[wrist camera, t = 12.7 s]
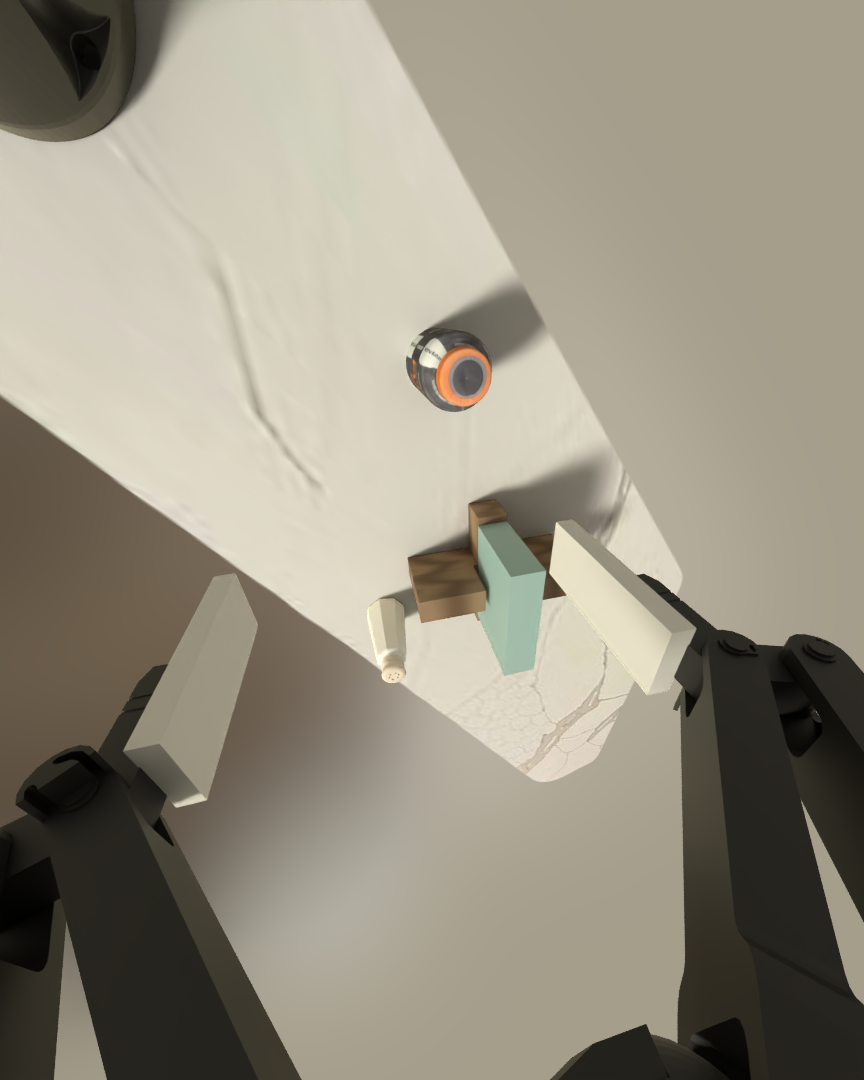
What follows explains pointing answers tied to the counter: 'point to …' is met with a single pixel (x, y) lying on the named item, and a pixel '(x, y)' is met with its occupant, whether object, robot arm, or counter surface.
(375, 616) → the pepper shaker
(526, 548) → the teal block
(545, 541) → the walnut joint base
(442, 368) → the pill bottle
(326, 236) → the counter surface
